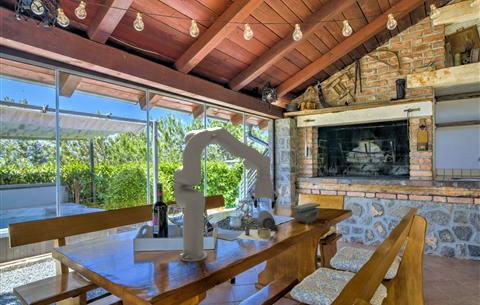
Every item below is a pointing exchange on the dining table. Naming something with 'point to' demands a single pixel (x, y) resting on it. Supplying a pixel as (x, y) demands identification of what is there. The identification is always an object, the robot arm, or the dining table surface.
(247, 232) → the hub post
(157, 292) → the dining table surface
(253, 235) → the cream base plate
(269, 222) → the bluetooth speaker
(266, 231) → the brass ring
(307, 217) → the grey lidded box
